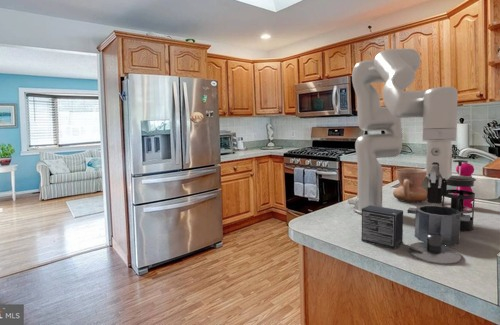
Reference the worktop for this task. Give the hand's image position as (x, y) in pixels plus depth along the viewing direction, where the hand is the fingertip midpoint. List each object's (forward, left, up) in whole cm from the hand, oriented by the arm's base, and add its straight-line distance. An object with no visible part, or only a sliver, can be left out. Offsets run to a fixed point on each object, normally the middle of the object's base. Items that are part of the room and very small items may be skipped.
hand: (437, 199), depth 81 cm
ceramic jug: (-17, +57, -16) cm, 62 cm away
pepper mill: (+3, +56, -16) cm, 59 cm away
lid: (0, 0, -16) cm, 16 cm away
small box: (-14, +1, -16) cm, 21 cm away
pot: (-1, +13, -16) cm, 21 cm away
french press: (+3, +28, -16) cm, 33 cm away
